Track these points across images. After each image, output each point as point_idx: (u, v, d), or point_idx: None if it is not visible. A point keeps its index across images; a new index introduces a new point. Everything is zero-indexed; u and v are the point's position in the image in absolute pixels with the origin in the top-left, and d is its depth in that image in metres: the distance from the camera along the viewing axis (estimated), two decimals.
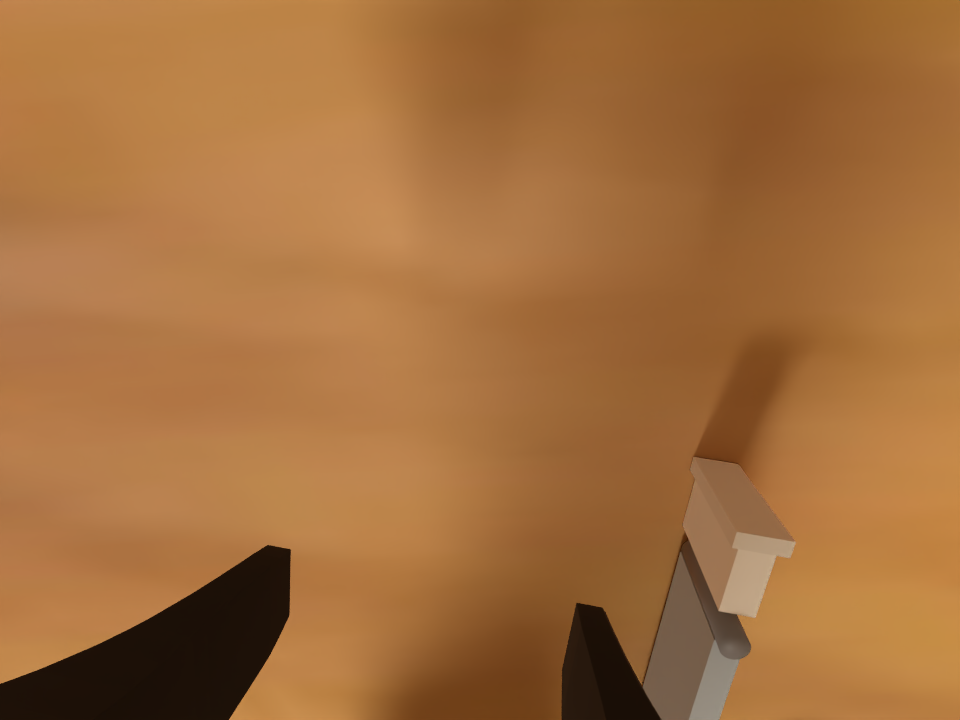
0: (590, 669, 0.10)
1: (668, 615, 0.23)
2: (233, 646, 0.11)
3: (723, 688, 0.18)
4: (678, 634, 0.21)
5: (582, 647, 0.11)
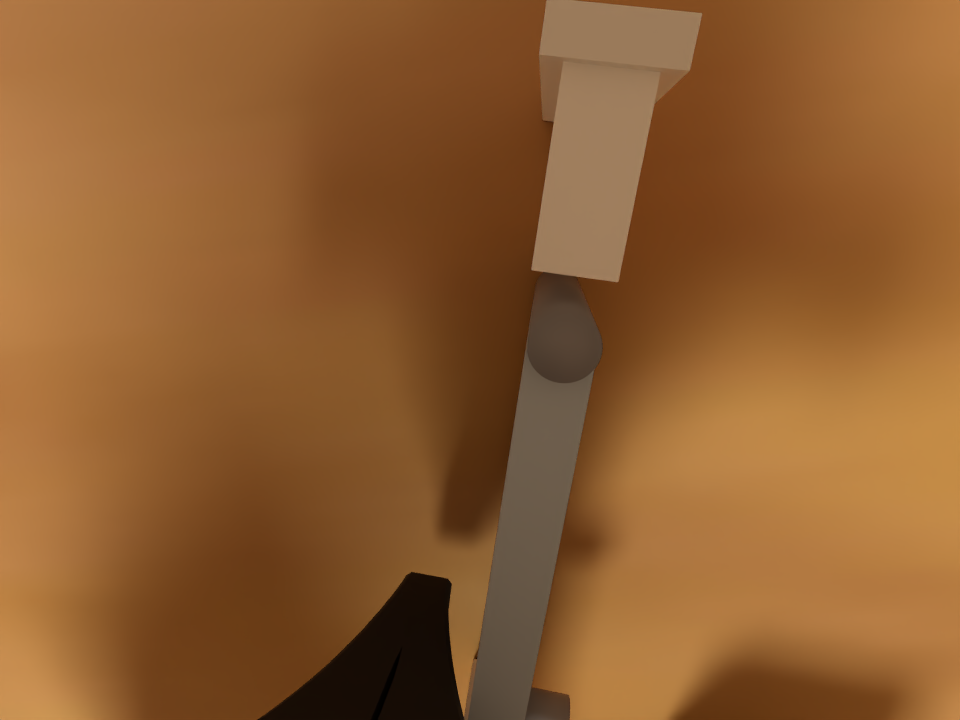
0: None
1: None
2: None
3: (559, 478, 0.08)
4: None
5: None
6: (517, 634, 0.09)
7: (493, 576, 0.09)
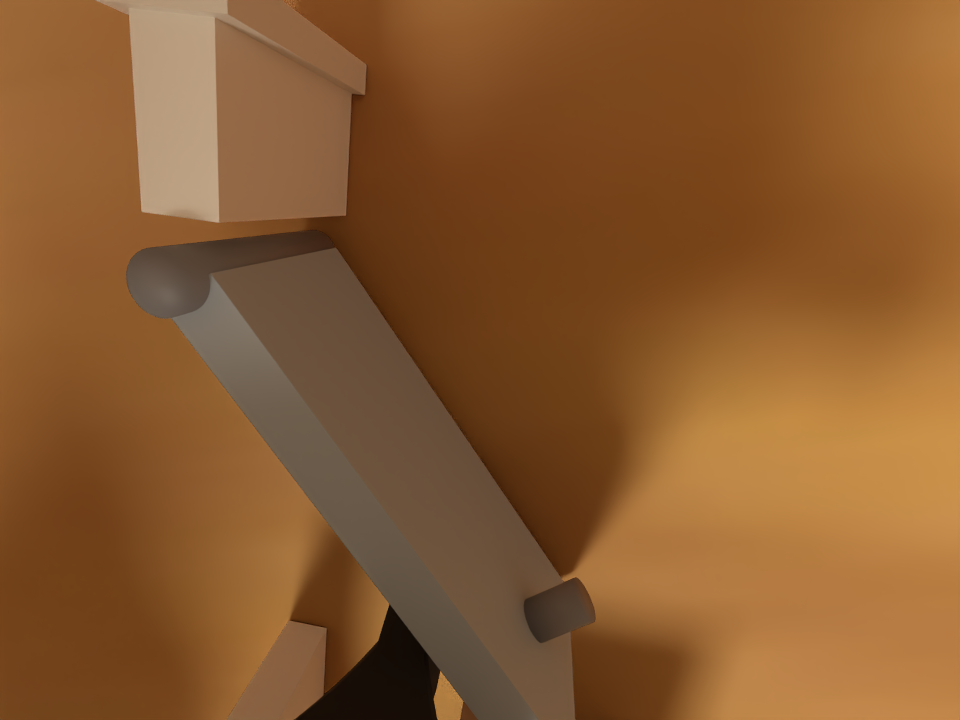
0: None
1: None
2: None
3: (280, 388, 0.08)
4: None
5: None
6: (383, 544, 0.09)
7: (319, 508, 0.09)
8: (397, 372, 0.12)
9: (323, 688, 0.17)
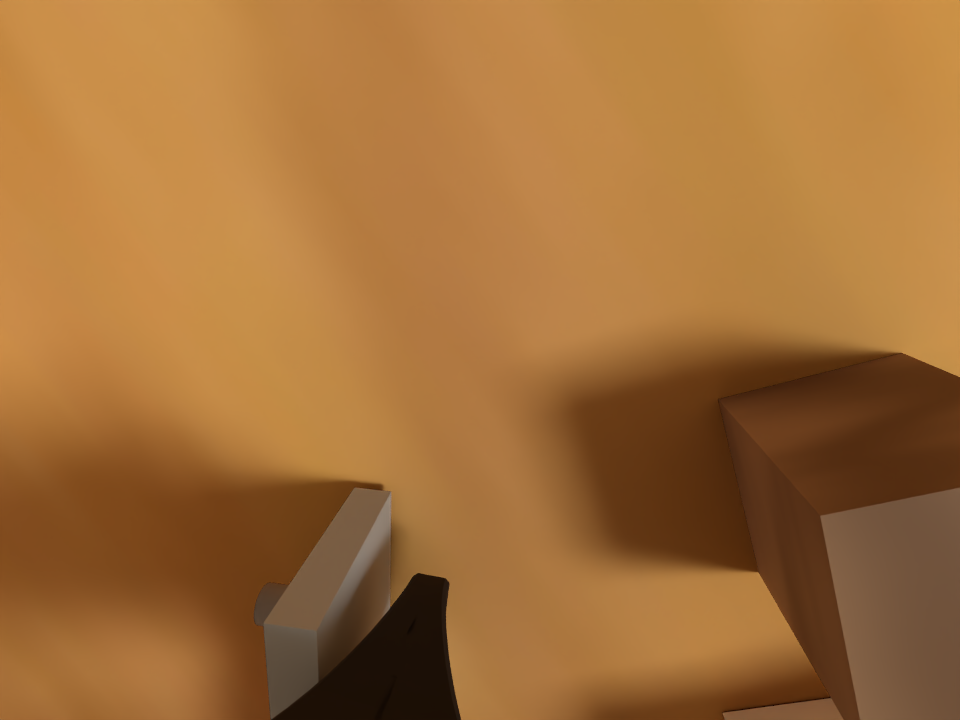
0: (403, 632, 0.11)
1: None
2: None
3: None
4: None
5: None
6: None
7: None
8: None
9: (810, 702, 0.15)
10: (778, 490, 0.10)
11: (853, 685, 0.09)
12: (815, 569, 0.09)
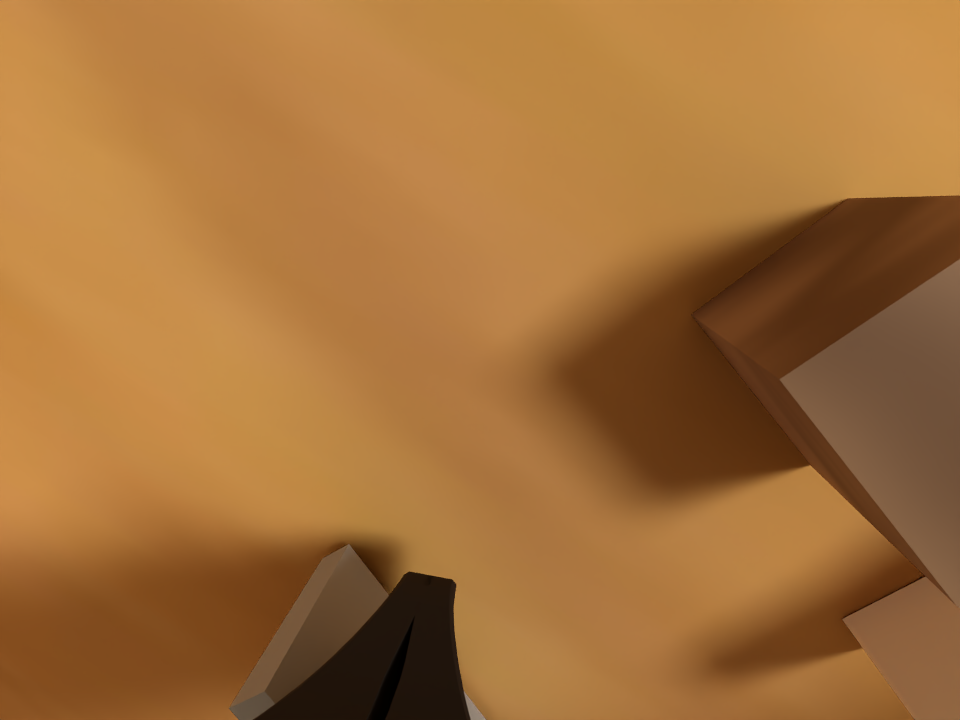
0: (411, 634, 0.11)
1: None
2: None
3: None
4: None
5: None
6: None
7: None
8: None
9: (926, 577, 0.14)
10: (757, 374, 0.10)
11: (900, 533, 0.08)
12: (815, 434, 0.09)
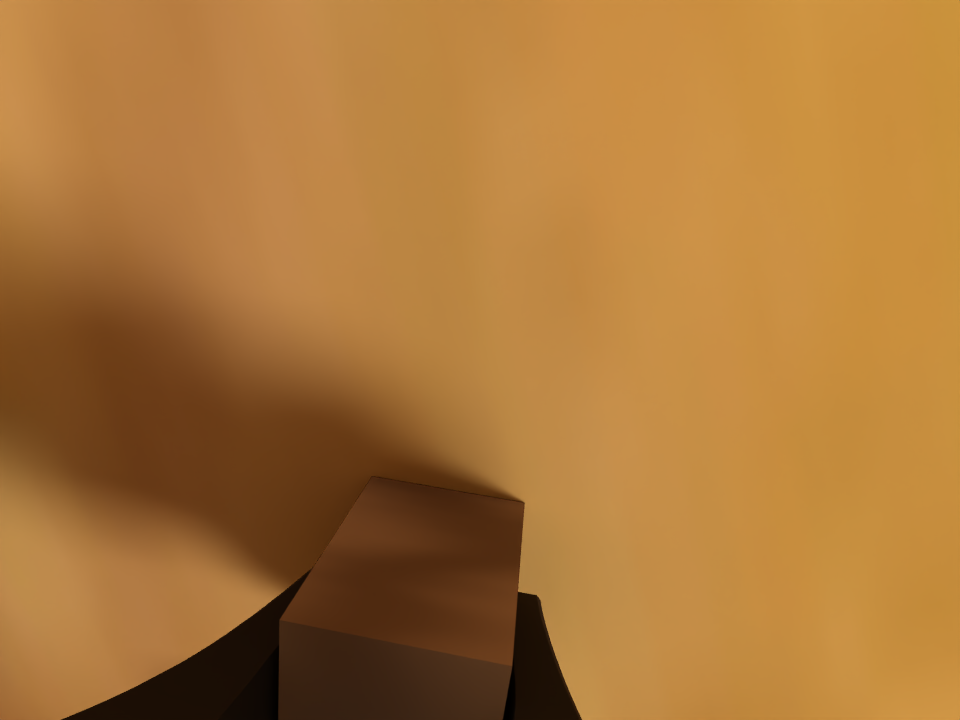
0: None
1: None
2: None
3: None
4: None
5: None
6: None
7: None
8: None
9: None
10: None
11: None
12: None
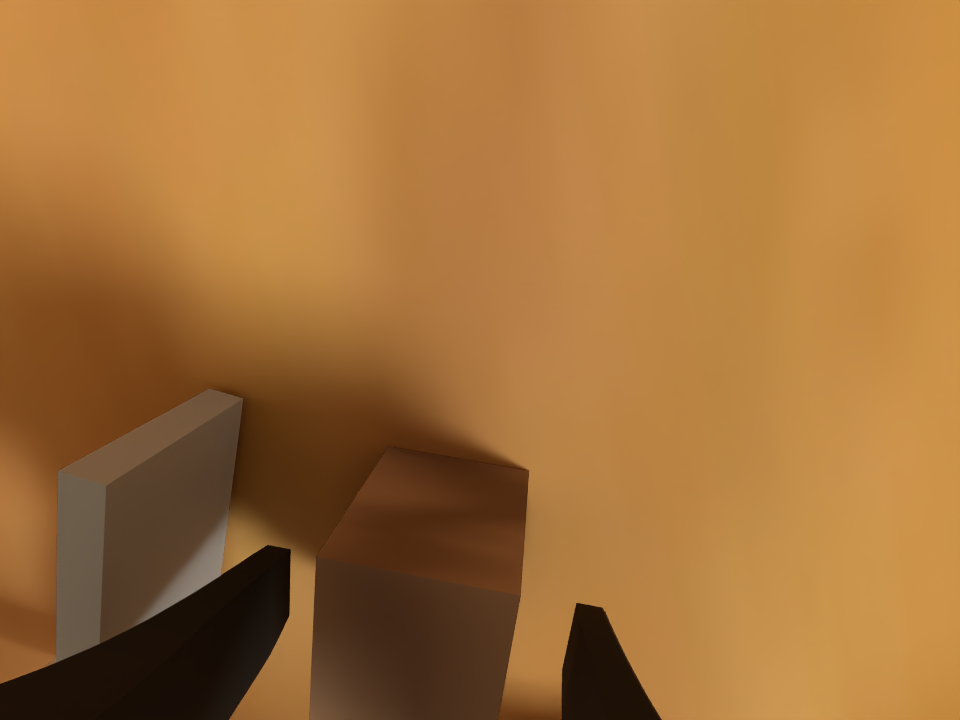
0: (590, 669, 0.10)
1: None
2: (233, 646, 0.11)
3: None
4: None
5: (582, 647, 0.11)
6: None
7: None
8: None
9: None
10: None
11: (311, 686, 0.11)
12: None
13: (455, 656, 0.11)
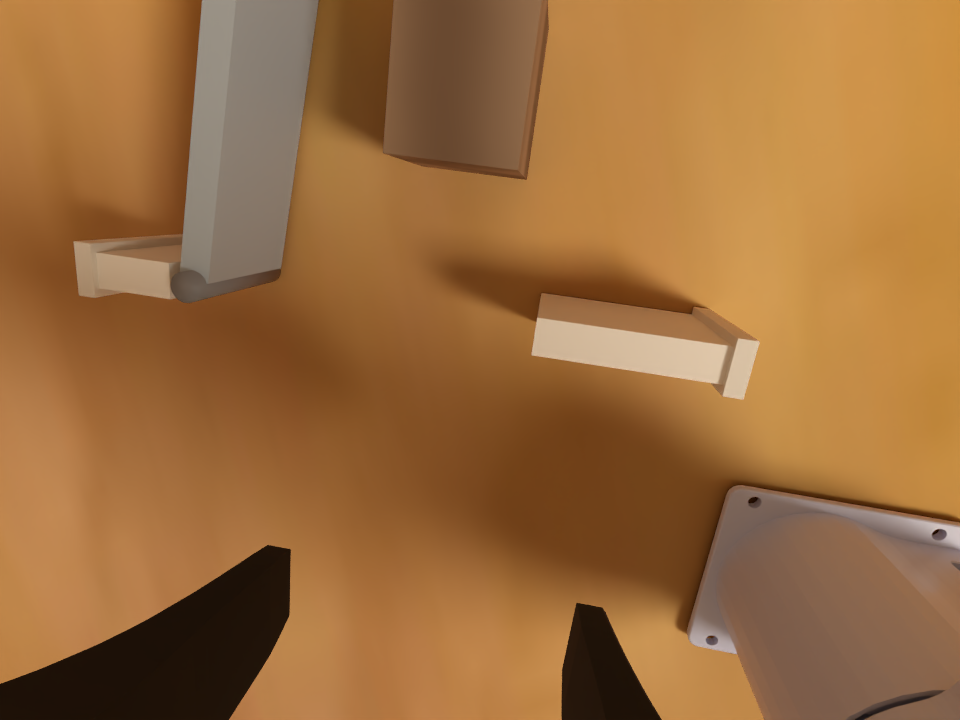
0: (590, 669, 0.10)
1: (283, 198, 0.20)
2: (232, 646, 0.11)
3: (190, 217, 0.17)
4: (261, 208, 0.19)
5: (582, 647, 0.11)
6: (205, 116, 0.16)
7: (219, 158, 0.16)
8: None
9: (600, 301, 0.21)
10: None
11: (387, 89, 0.15)
12: None
13: (498, 37, 0.14)
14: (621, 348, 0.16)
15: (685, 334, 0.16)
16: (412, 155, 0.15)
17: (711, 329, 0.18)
